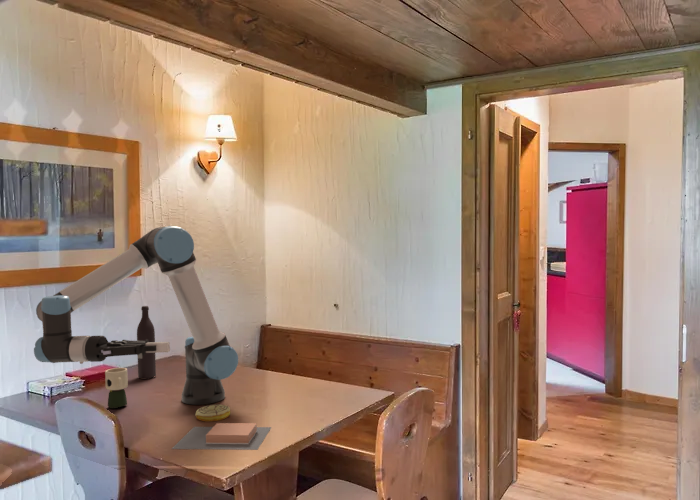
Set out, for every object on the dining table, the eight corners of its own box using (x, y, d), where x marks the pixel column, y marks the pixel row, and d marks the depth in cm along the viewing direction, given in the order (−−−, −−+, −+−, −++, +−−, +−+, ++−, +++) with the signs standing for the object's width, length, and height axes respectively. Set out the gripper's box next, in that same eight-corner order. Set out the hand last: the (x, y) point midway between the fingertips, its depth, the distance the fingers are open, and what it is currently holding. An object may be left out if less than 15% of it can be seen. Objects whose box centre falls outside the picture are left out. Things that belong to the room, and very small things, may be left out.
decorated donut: (208, 412, 192) (207, 401, 192) (236, 415, 189) (236, 404, 188) (189, 422, 182) (189, 410, 182) (219, 425, 179) (218, 413, 179)
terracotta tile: (216, 423, 171) (256, 423, 170) (217, 431, 171) (256, 431, 170) (205, 434, 161) (248, 435, 160) (206, 443, 161) (248, 444, 160)
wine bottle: (143, 375, 245) (141, 305, 244) (159, 375, 244) (156, 305, 243) (134, 379, 238) (132, 307, 237) (151, 379, 237) (148, 307, 236)
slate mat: (194, 428, 176) (194, 426, 176) (271, 429, 174) (271, 427, 174) (171, 450, 158) (171, 448, 158) (257, 451, 156) (257, 449, 156)
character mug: (103, 405, 202) (102, 368, 202) (124, 401, 206) (123, 365, 206) (110, 412, 193) (108, 374, 193) (132, 408, 197) (130, 371, 197)
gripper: (102, 356, 174) (177, 354, 173) (78, 366, 161) (160, 365, 160) (100, 331, 174) (176, 330, 172) (77, 340, 161) (158, 338, 159)
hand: (168, 347), depth 166 cm, fingers closed
